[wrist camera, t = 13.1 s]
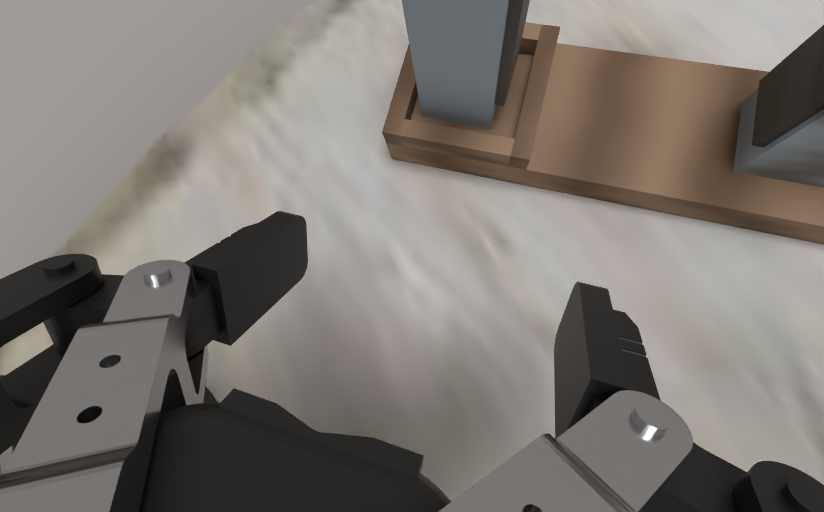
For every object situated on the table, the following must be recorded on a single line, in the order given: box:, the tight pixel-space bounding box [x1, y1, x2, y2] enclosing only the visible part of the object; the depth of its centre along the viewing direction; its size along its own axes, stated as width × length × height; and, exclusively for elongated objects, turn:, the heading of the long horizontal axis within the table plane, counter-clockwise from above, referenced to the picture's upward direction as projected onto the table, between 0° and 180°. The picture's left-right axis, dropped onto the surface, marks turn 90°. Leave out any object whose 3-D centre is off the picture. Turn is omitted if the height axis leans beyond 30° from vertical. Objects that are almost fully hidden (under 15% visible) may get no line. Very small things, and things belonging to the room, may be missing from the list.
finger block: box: [402, 0, 530, 130], centre depth 18 cm, size 4×4×10 cm
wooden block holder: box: [382, 22, 824, 244], centre depth 17 cm, size 24×8×12 cm, turn 75°
